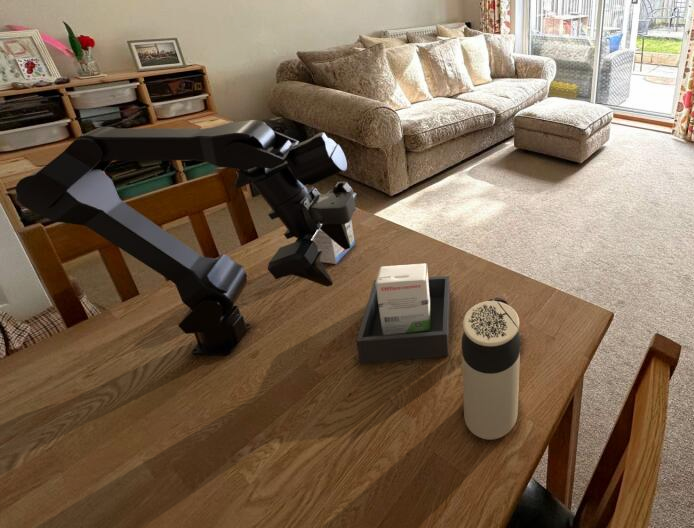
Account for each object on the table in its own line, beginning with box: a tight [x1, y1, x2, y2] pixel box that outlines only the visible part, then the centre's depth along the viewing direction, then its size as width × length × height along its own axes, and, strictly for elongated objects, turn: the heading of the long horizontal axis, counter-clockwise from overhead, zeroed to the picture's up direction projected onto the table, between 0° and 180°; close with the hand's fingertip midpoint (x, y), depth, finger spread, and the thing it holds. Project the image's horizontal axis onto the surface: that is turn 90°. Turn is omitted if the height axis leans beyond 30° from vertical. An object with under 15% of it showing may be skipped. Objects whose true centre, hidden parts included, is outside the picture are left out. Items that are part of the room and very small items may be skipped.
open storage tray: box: [356, 275, 451, 364], centre depth 74 cm, size 15×15×5 cm
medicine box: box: [313, 219, 356, 265], centre depth 93 cm, size 8×4×9 cm, turn 168°
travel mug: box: [461, 300, 521, 440], centre depth 57 cm, size 8×8×18 cm
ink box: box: [375, 262, 431, 335], centre depth 73 cm, size 9×5×12 cm, turn 98°
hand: (339, 265), depth 70 cm, fingers open, 9 cm apart
